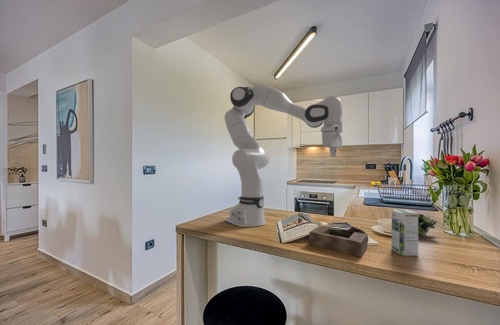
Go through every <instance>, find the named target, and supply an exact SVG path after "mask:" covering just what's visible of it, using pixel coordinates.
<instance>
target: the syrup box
mask: <svg viewBox="0 0 500 325" xmlns="http://www.w3.org/2000/svg"><path fill="white" fill-rule="evenodd" d="M418 214H419V212H414V211H411V210H408V209H403V208H401V209H400V208H395V209H391V250H392V251H394V252H396V253H397V254H398V255H400V257H401V256H403V257H405V256H406V257H415V256H416V257H418V256H419V233H418Z"/></svg>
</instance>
